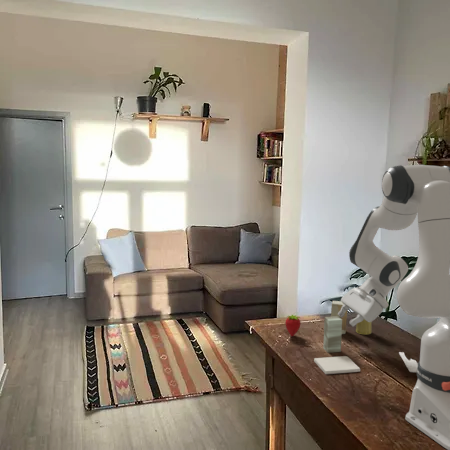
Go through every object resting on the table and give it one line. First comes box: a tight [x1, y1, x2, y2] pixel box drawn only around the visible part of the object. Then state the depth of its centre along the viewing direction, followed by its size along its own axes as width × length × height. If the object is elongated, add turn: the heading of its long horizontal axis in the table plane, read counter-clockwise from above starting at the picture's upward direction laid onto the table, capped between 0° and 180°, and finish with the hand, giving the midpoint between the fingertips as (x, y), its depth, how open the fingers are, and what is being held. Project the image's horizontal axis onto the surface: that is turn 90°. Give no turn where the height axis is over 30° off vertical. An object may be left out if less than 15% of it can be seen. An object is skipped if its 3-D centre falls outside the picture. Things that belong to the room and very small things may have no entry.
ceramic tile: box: [313, 355, 361, 375], centre depth 152 cm, size 10×12×1 cm
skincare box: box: [330, 300, 348, 335], centre depth 183 cm, size 6×4×12 cm
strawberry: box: [285, 313, 302, 338], centre depth 178 cm, size 6×8×10 cm
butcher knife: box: [398, 351, 418, 373], centre depth 156 cm, size 5×15×1 cm, turn 172°
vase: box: [355, 319, 373, 336], centre depth 183 cm, size 6×6×14 cm
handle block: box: [322, 316, 343, 354], centre depth 165 cm, size 4×5×12 cm
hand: (344, 320), depth 165 cm, fingers open, 8 cm apart
